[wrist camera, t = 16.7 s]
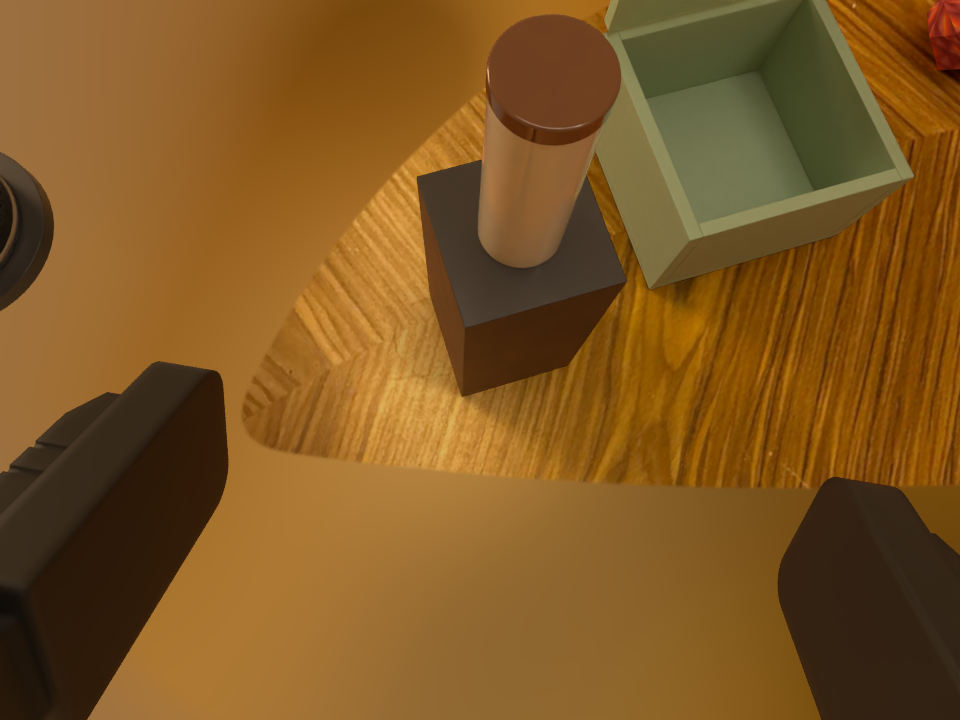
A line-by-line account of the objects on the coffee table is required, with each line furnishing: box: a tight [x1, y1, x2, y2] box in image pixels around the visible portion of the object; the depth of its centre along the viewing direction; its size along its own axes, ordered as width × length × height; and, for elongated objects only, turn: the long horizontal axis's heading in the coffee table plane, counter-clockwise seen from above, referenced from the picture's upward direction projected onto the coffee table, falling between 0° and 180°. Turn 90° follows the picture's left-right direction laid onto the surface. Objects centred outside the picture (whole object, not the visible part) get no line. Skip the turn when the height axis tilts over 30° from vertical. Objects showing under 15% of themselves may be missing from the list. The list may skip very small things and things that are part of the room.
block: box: [417, 160, 627, 397], centre depth 35 cm, size 7×7×15 cm
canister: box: [477, 14, 621, 268], centre depth 23 cm, size 4×4×10 cm
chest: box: [596, 0, 914, 290], centre depth 42 cm, size 14×14×8 cm
